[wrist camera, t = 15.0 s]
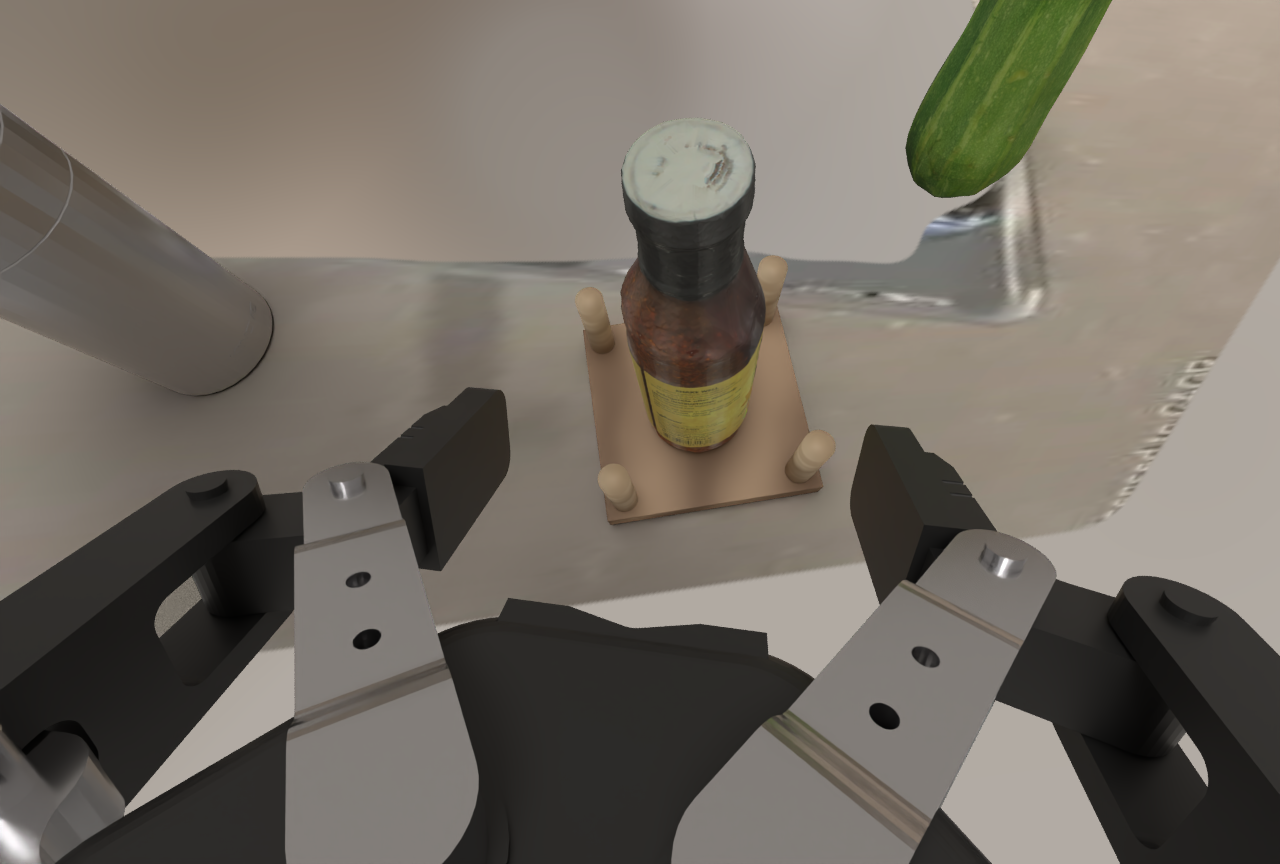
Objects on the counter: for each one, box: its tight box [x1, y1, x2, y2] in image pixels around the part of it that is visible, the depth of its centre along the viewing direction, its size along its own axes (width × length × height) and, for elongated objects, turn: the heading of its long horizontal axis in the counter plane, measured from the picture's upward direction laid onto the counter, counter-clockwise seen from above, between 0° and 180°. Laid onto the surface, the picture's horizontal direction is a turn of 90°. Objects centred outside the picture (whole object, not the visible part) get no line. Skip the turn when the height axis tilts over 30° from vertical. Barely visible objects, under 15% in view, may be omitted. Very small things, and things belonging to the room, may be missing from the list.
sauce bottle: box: [621, 118, 766, 453], centre depth 26 cm, size 7×6×20 cm
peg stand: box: [575, 255, 836, 525], centre depth 33 cm, size 13×13×7 cm
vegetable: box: [906, 0, 1112, 198], centre depth 31 cm, size 7×7×20 cm
